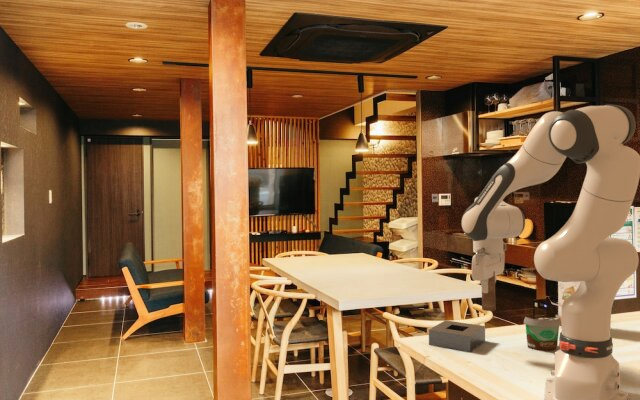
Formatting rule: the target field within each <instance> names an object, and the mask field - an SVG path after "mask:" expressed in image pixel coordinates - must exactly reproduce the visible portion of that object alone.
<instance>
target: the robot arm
mask: <svg viewBox="0 0 640 400" xmlns="http://www.w3.org/2000/svg"><path fill="white" fill-rule="evenodd" d="M636 124H637V123H636V118H635V116H634V114H633V113H632V111H630V110H629V109H628V108H626V107H624V106H621V105H617V104H605V105H588V106H584V107H579V108H576V109H569V110H567V111H564V112H561V111H556V110H555V111H549V112H546V113H544V114H543V115H542V116H541V117H539V120H537V122H536V123H535V125H534V126H533V127H531V128H532V129H531V130H530V131H529V133H528V135H527V136H526V138H525V140H524V142H523V144H522V145H521V146H520V148H519V149H518V151H517V152H515V154H514V155H513V156H512V157H511V158H510V159H509V160H508V161H507V162H506V163H504V164H503V165H502V166H500V167H499V168H498V169H497V170H496V171H495V172H494V174H493V175H492V176H491V178H490V179H489V181H488V182H487V183H486V185H485V187H484V188H483V189H482V191H481V192H480V194H479V195H478V196H476V197H475V198H474V202H472V204H471V205H470V206H468V207H467V208H466V210H465V211H464V212H463V214H462V216H461V221H460V222H461V223H460V224H461V225H460V226H461V230H462V232H463V233H464V235H466V237H468V238H469V239H470V240H471V241H472V252H473V253H475V254H474V255H472V258H471V259H472V260H471V279H472V280H473V281H476V282H477V281H478V282H480V286H481V293H482V292H483V293H488V292H489V287H488V279H489V278H491V277H493V275H494V273H493V272H494V271H495V283H497V276H499V275H500V274H503V273H504V270H505V262H506V261H505V260H506V259H505V258H506V257H505V255H506V253H505V251H507V243H505V242H504V239H513V238H516V237H519V236H521V235H522V233H523V232H524V229H525V226H526V218H525V215H524V212H523V211H522V210H521V209H520V207H518V206H516V205H512V204H509V203H507V202H505V201H504V199H505V198H506V197H507V196H508V195H509V194H511V193H512V192H516V191H518V190H520V189H523V188H527V187H530V186H531V187H532V186H536V185H540V184H543V183H546V182H547V181H549V180H550V179H551V180H552V178H553V177H554V176H555V175H556V174H557V173H558V172H559V170H560V169H561V167H562V166H563V163H564V162H565V161H566V159H567V158H569V159H570V160H571V161H573V163H575V164H584V163H585V164H586V167H587V168H586V174H585V176H584V179H583V180H584V181H583V183H582V186H581V190H580V193H579V197H578V199H577V202H576V204H575V207H574V209H573V211H572V214H571V215H570V217H569V218H568V220H567V221H566V222H565V224H564V225H563V226H562V227H561V228H560V229H559V230H558V231H557V232H556V233H555V234H553V235H552V236H551V237H549V238H548V239H546V240H544V241H542V242H541V243H540V244H539V245H538V246H537V247H536V249H535V251H534V256H533V262H534V267H535V269H536V271H537V273H538V274H539V275H540V277H542V278H543V279H545V280H548V281H555V282H558V281H559V282H580V285H579V287H578V289H577V290H576V291H575V293H573V294H572V295H571V296H569V297H568V298H566V299H565V300H564V302H563V304H562V325H561V331H560V332H559V336H558V348H559V349H558V350H556V351H555V352H554V370H553V369H551V371H550V374H551V376H552V377H548V378H545V379H546V380H545V386H544V387H545V388H544V399H543V400H629V393H627V392H624V391H623V390H621V376H620V372H621V371H620V362H619V361H617V359H616V358H614V356H613V354H612V353H613V348H614V343H613V338H612V337H611V325H612V324H611V323H612V319H611V318H612V308H613V304H614V301H615V298H616V296H617V293H618V291H619V290H620V288H621V287H622V285H623V284H624V282H625V281H627V280H628V279H629V278H630V277H631V276H632V275H634V274H635V273H636V271H637V269H638V266H639V262H640V261H639V254H638V251H637V248H636V247H635V246H634V245H633V243H632V242H630V241H629V240H627V239H623V238H618V237H610V236H612V235H614V234H617V232H619V231H620V230H621V229H622V228H623V227H624V226H625V224H626V220H627V219H628V216H629V213H630V210H631V208H632V205H633V202H634V199H635V196H636V193H637V189H638V186H639V182H640V154H639V153H638V151H636V150H635V149H633V148H631V147H629V146H627V145H624V144H626V143H627V142H629V140H631V138H633V136H634V134H635V133H636V132H635V131H636V129H637V128H636V126H637V125H636Z"/></svg>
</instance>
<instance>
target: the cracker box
mask: <svg viewBox="0 0 640 400" xmlns="http://www.w3.org/2000/svg"><path fill="white" fill-rule="evenodd" d="M557 283H558V284H557V286H558V287H557V293H558V296H557V297H558V298H557V299H558V300H557V301H558V302H557V303H558V305H557V308H558V309H557V311H558V312H557V315H558V316H559V317H560V319H561V323H562V304H563V302H564V300H565V299H566V298H568V297H569V296H571V295H572V294H573V293H575V291H576V290H577V289H578V287H579V285H580V282H559V281H557ZM560 326H562V324H561V325H560Z"/></svg>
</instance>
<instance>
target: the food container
mask: <svg viewBox="0 0 640 400" xmlns="http://www.w3.org/2000/svg"><path fill="white" fill-rule="evenodd" d="M523 324H525V333H526V342H527V343H526V344H527V348H528V349H531V350H535V351H539V352H552V351H557V349H558V344H559V334H560V332H559V331H560V330H559V329H560V326H562V325H561V324H562V323H561V319H560V317H559V316H558V314H555V316H554V317H543V316H542V317H536V318H531V317H527V316H524V319H523Z"/></svg>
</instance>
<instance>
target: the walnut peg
mask: <svg viewBox="0 0 640 400" xmlns="http://www.w3.org/2000/svg"><path fill="white" fill-rule="evenodd" d="M493 273H494V275H493V277H491V278H489V279H488V287H489V292H488V293H483V292H482V291H481V310H482V311H486V312H494V311H496V308H497V307H496V304H497V303H496V282H495V271H494V272H493Z"/></svg>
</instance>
